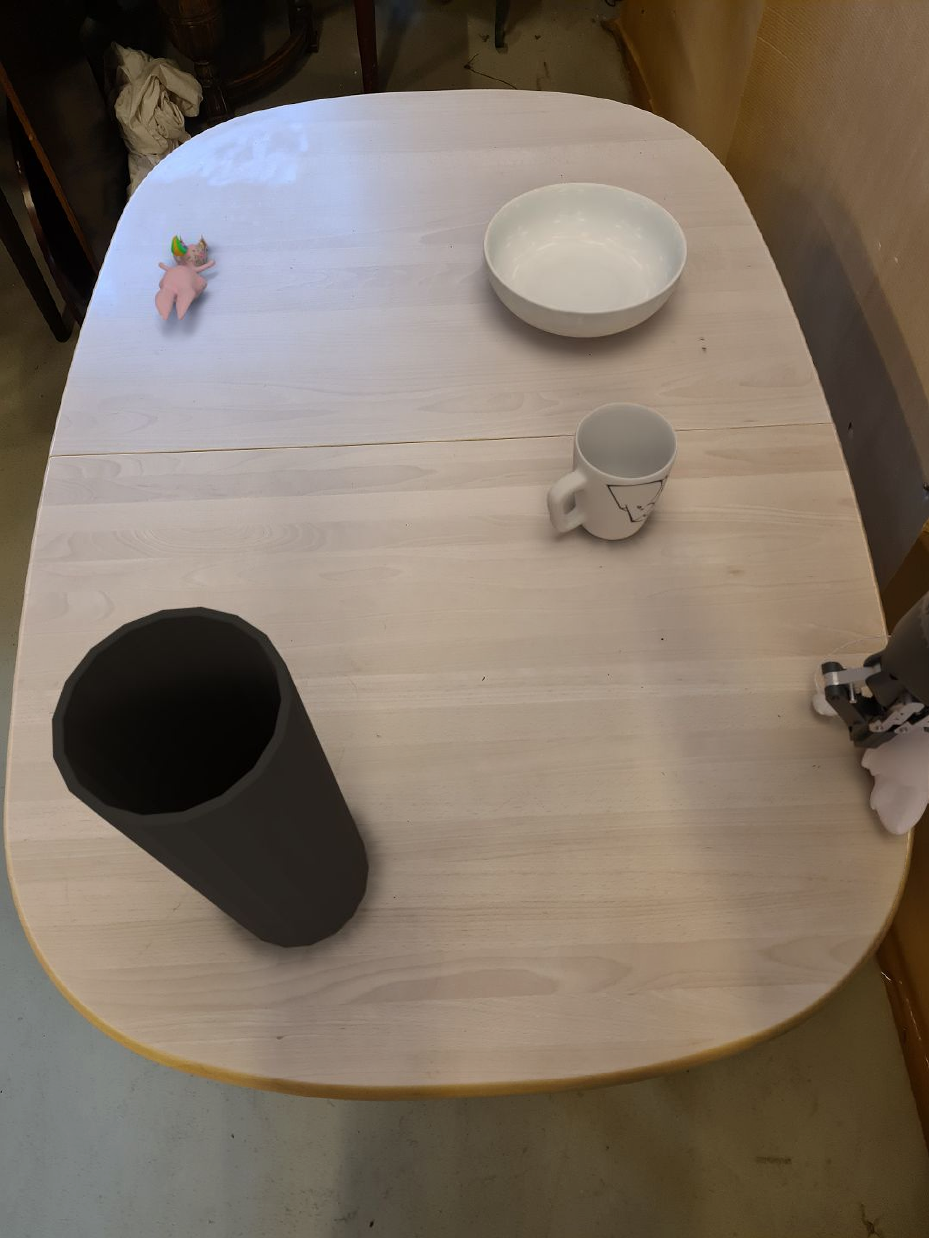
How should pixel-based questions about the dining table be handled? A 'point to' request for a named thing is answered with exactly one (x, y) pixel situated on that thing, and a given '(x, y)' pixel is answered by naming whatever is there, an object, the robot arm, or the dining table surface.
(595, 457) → the mug
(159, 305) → the pink soft figure
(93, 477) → the dining table surface
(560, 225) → the serving bowl
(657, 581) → the dining table surface
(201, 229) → the dining table surface
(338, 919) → the vase
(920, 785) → the toy
